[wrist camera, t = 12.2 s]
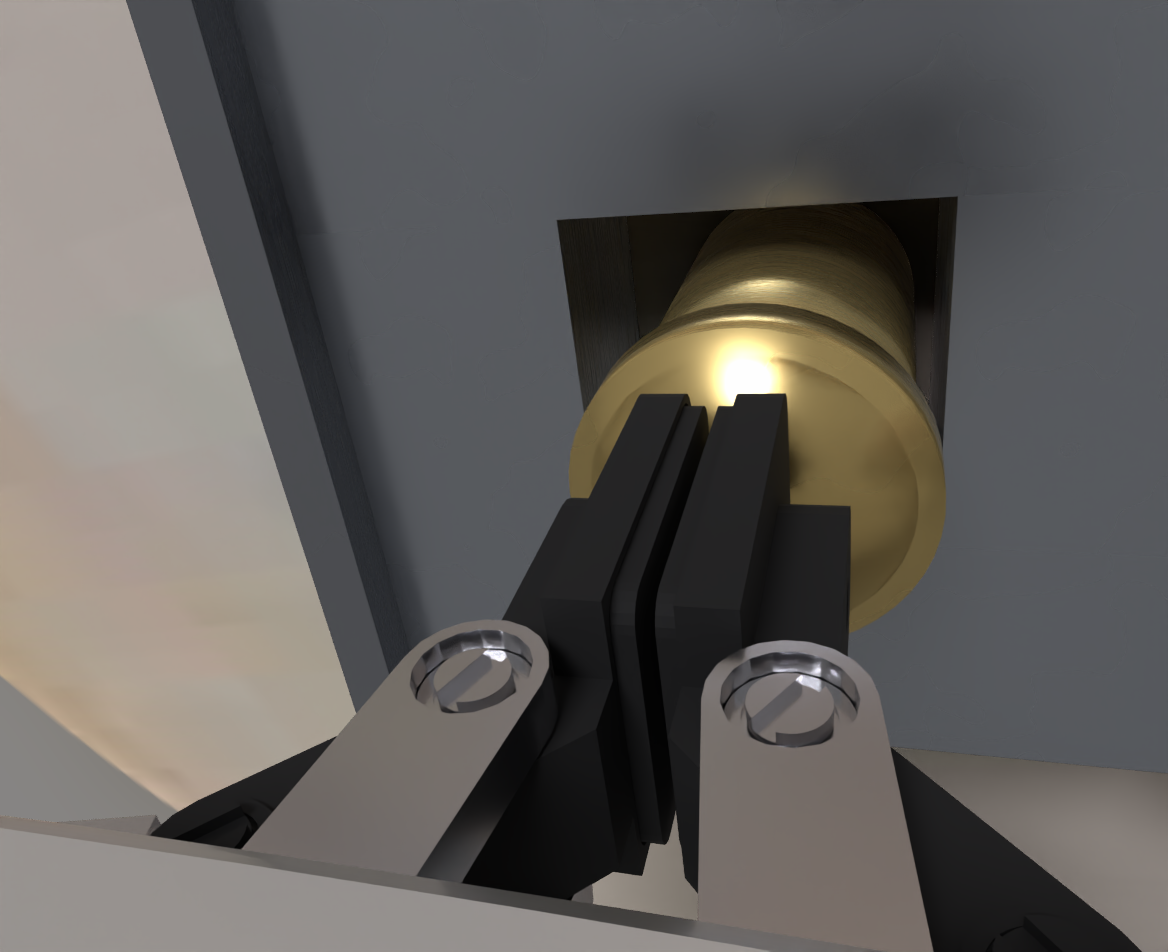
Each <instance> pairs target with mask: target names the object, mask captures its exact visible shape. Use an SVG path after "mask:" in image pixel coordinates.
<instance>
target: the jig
mask: <svg viewBox="0 0 1168 952" xmlns="http://www.w3.org/2000/svg"><path fill="white" fill-rule="evenodd" d="M126 2H127V5H128V8H129V11H130V14H131V17H132V20H133V24H134V27H135V30H136V33H137V36H138V39H139V42H140V45H141V48H142V51H143V54H144V58H145V61H146V64H147V67H148V70H149V73H150V76H151V79H152V82H153V85H154V89H155V92H156V95H157V98H158V101H159V104H160V107H161V110H162V113H163V116H164V120H165V123H166V126H167V129H168V132H169V135H170V138H171V141H172V144H173V147H174V150H175V154H176V157H177V160H178V163H179V166H180V169H181V172H182V175H183V178H184V181H185V185H186V188H187V191H188V194H189V197H190V200H191V203H192V206H193V209H194V212H195V215H196V219H197V222H198V225H199V228H200V231H201V234H202V237H203V240H204V243H205V246H206V250H207V253H208V256H209V259H210V262H211V265H212V268H213V271H214V274H215V277H216V280H217V284H218V287H219V290H220V293H221V296H222V299H223V302H224V305H225V308H226V311H227V315H228V318H229V321H230V324H231V327H232V330H233V333H234V336H235V339H236V342H237V346H238V349H239V352H240V355H241V358H242V361H243V364H244V367H245V370H246V373H247V376H248V380H249V383H250V386H251V389H252V392H253V395H254V398H255V401H256V404H257V407H258V411H259V414H260V417H261V420H262V423H263V426H264V429H265V432H266V435H267V438H268V441H269V445H270V448H271V451H272V454H273V457H274V460H275V463H276V466H277V469H278V472H279V476H280V479H281V482H282V485H283V488H284V491H285V494H286V497H287V500H288V503H289V507H290V510H291V513H292V516H293V519H294V522H295V525H296V528H297V531H298V534H299V537H300V541H301V544H302V547H303V550H304V553H305V556H306V559H307V562H308V565H309V568H310V572H311V575H312V578H313V581H314V584H315V587H316V590H317V593H318V596H319V599H320V602H321V606H322V609H323V612H324V615H325V618H326V621H327V624H328V627H329V630H330V633H331V637H332V640H333V643H334V646H335V649H336V652H337V655H338V658H339V661H340V664H341V668H342V671H343V674H344V677H345V680H346V683H347V686H348V689H349V692H350V695H351V698H352V702H353V705H354V708H355V711H356V713H357V712H358V711H359V710H360V709H361V708H362V706H363V705H364V704H365V703H366V702H367V700H368V699H369V698H370V697H371V696H372V695H373V693H374V692H375V691H376V690H377V689H378V687H379V686H380V685H381V684H382V683H383V682H384V680H385V679H386V678H387V677H388V676H389V674H390V673H391V672H392V671H393V670H394V669H395V667H396V666H397V665H398V664H399V663H400V662H401V660H402V659H403V658H404V657H405V656H406V655H407V654H408V653H409V652H410V651H411V650H412V649H413V648H414V647H416V646H417V645H418V644H419V643H420V642H421V641H423V640H424V639H426V638H428V637H430V636H432V635H433V634H435V633H437V632H439V631H440V630H443V629H446V628H449V627H452V626H455V625H458V624H461V623H464V622H471V621H478V620H486V619H487V620H502V618H503V616H504V615H505V613H506V611H507V609H508V607H509V605H510V603H511V601H512V599H513V597H514V596H515V594H516V592H517V590H518V588H519V586H520V584H521V582H522V580H523V578H524V577H525V575H526V573H527V571H528V569H529V567H530V565H531V563H532V561H533V559H534V558H535V556H536V554H537V552H538V550H539V548H540V546H541V544H542V542H543V540H544V539H545V537H546V535H547V533H548V531H549V529H550V527H551V525H552V523H553V522H554V520H555V518H556V516H557V514H558V512H559V510H560V508H561V506H562V505H563V504H564V502H565V501H566V500H567V499H569V498H571V496H570V487H569V464H570V453H571V449H572V445H573V441H574V437H575V433H576V431H577V428H578V426H579V424H580V421H581V419H582V417H583V414H584V412H585V411H586V409H587V407H588V406H589V404H590V402H591V401H592V399H593V397H594V396H595V394H596V392H597V391H598V389H599V387H600V386H601V384H602V382H603V381H604V379H605V378H606V376H607V374H608V373H609V371H610V370H611V368H612V367H613V366H614V365H615V363H616V362H617V361H618V360H619V359H620V358H621V356H622V355H623V354H624V353H625V352H626V351H627V350H628V349H629V348H631V347H632V346H633V345H634V344H635V343H636V342H637V341H639V330H638V321H637V311H636V302H635V292H634V283H633V274H632V264H631V255H630V245H629V236H628V226H627V217H626V216H631V215H648V214H666V213H683V212H700V211H717V210H734V209H751V208H768V207H785V206H802V205H819V204H836V203H853V202H870V201H887V200H904V199H922V198H939V197H940V201H939V220H938V240H937V259H936V279H935V298H934V318H933V337H932V356H931V376H930V395H929V407H930V409H931V411H932V413H933V415H934V417H935V420H936V424H937V427H938V430H939V433H940V437H941V443H942V450H943V457H944V469H945V484H946V516H945V521H944V527H943V532H942V537H941V540H940V542H939V545H938V548H937V551H936V553H935V556H934V558H933V560H932V562H931V563H930V565H929V567H928V569H927V570H926V572H925V574H924V576H923V577H922V578H921V579H920V581H919V582H918V583H917V585H916V586H915V587H914V588H913V590H912V591H911V592H910V593H909V594H908V595H907V596H906V597H905V598H904V599H903V600H902V601H901V602H900V603H899V604H898V605H897V606H895V607H894V608H893V609H891V610H890V611H889V612H887V613H886V614H884V615H883V616H882V617H880V618H879V619H877V620H876V621H874V622H872V623H870V624H868V625H866V626H864V627H863V628H861V629H859V630H856V631H854V632H851V633H849V640H848V657H849V658H851V659H853V660H855V661H856V662H857V663H858V664H859V665H860V666H861V667H862V668H863V669H864V670H865V671H866V672H867V673H868V674H869V675H870V676H871V678H872V680H873V682H874V685H875V687H876V689H877V691H878V694H879V696H880V701H881V706H882V711H883V715H884V720H885V725H886V730H887V734H888V739H889V744H890V746H891V747H901V748H911V749H922V750H932V751H942V752H952V753H963V754H973V755H983V756H994V757H1004V758H1014V759H1025V760H1035V761H1045V762H1056V763H1066V764H1076V765H1087V766H1097V767H1107V768H1118V769H1128V770H1138V771H1149V772H1159V773H1168V0H126Z"/></svg>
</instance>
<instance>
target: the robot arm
mask: <svg viewBox="0 0 1168 952" xmlns="http://www.w3.org/2000/svg"><path fill="white" fill-rule="evenodd" d="M850 575H851V506H838V505H804V504H790V471H789V435H788V405H787V396H786V394H785V393H739V394H737V395H736V398H735V401H734V404H733V406H718V408H717V411H716V414H715V417H714V420H713V423H712V426H711V429H710V432H709V425H708V414H707V409H706V407H705V406H691V402H690V398H689V396H688V394H640V395H639V397H638V398H637V400H636V402H635V404H634V406H633V408H632V410H631V412H630V415H629V417H628V419H627V421H626V423H625V425H624V427H623V429H622V431H621V433H620V435H619V437H618V439H617V441H616V443H615V445H614V447H613V449H612V451H611V453H610V455H609V457H608V459H607V462H606V464H605V466H604V468H603V470H602V472H601V474H600V476H599V478H598V480H597V482H596V484H595V486H594V488H593V490H592V492H591V494H590V496H589V498H569V499H567V500H566V501H565V502H564V504H563V505H562V506H561V508H560V510H559V512H558V514H557V516H556V518H555V520H554V522H553V523H552V525H551V527H550V529H549V531H548V533H547V535H546V537H545V539H544V540H543V542H542V544H541V546H540V548H539V550H538V552H537V554H536V556H535V558H534V559H533V561H532V563H531V565H530V567H529V569H528V571H527V573H526V575H525V577H524V578H523V580H522V582H521V584H520V586H519V588H518V590H517V592H516V594H515V596H514V597H513V599H512V601H511V603H510V605H509V607H508V609H507V611H506V613H505V615H504V616H503V618H502V620H487V619H486V620H478V621H471V622H464V623H461V624H458V625H455V626H452V627H449V628H446V629H443V630H440V631H439V632H437V633H435V634H433V635H432V636H430V637H428V638H426V639H424V640H423V641H421V642H420V643H419V644H418V645H417V646H416V647H414V648H413V649H412V650H411V651H410V652H409V653H408V654H407V655H406V656H405V657H404V658H403V659H402V660H401V662H400V663H399V664H398V665H397V666H396V667H395V669H394V670H393V671H392V672H391V673H390V674H389V676H388V677H387V678H386V679H385V680H384V682H383V683H382V684H381V685H380V686H379V687H378V689H377V690H376V691H375V692H374V693H373V695H372V696H371V697H370V698H369V699H368V700H367V702H366V703H365V704H364V705H363V706H362V708H361V709H360V710H359V711H358V712H357V713H356V715H355V716H354V717H353V718H352V719H351V720H350V722H349V723H348V724H347V725H346V726H345V728H344V729H343V730H342V731H341V732H340V733H339V735H338V736H336V737H334V738H332V739H330V740H327V741H325V742H323V743H321V744H319V745H317V746H314V747H312V748H310V749H308V750H306V751H304V752H302V753H299V754H297V755H295V756H293V757H291V758H289V759H286V760H284V761H282V762H280V763H278V764H276V765H273V766H271V767H269V768H267V769H265V770H263V771H261V772H258V773H256V774H254V775H252V776H250V777H248V778H245V779H243V780H241V781H239V782H237V783H235V784H232V785H230V786H228V787H226V788H224V789H222V790H219V791H217V792H215V793H213V794H211V795H209V796H207V797H204V798H202V799H200V800H198V801H196V802H194V803H193V804H191V805H189V806H188V807H186V808H184V809H182V810H181V811H179V812H177V813H175V814H174V815H172V816H171V817H170V818H169V819H168V820H167V821H165V822H164V823H163V824H162V825H161V824H160V822H159V820H158V818H157V816H156V815H148V816H135V817H122V818H109V819H95V820H82V821H69V822H57V823H56V822H47V821H39V820H32V819H25V818H17V817H9V816H1V815H0V952H1142V951H1141V950H1140V949H1139V948H1138V947H1137V946H1136V945H1135V944H1134V943H1133V942H1132V941H1131V940H1130V939H1129V938H1128V937H1127V936H1126V935H1125V934H1124V933H1123V932H1122V931H1120V930H1119V929H1118V928H1117V927H1115V926H1114V925H1113V924H1112V923H1110V922H1109V921H1108V920H1107V919H1105V918H1104V917H1103V916H1102V915H1100V914H1099V913H1098V912H1097V911H1095V910H1094V909H1093V908H1092V907H1090V906H1089V905H1088V904H1087V903H1085V902H1084V901H1083V900H1082V899H1080V898H1079V897H1078V896H1077V895H1075V894H1074V893H1073V892H1072V891H1070V890H1069V889H1068V888H1067V887H1065V886H1064V885H1063V884H1062V883H1060V882H1059V881H1058V880H1057V879H1055V878H1054V877H1053V876H1052V875H1050V874H1049V873H1048V872H1047V871H1045V870H1044V869H1043V868H1042V867H1040V866H1039V865H1038V864H1037V863H1035V862H1034V861H1033V860H1032V859H1030V858H1029V857H1028V856H1027V855H1025V854H1024V853H1023V852H1022V851H1020V850H1019V849H1018V848H1016V847H1015V846H1014V845H1013V844H1011V843H1010V842H1009V841H1008V840H1006V839H1005V838H1004V837H1003V836H1001V835H1000V834H999V833H998V832H996V831H995V830H994V829H993V828H991V827H990V826H989V825H988V824H986V823H985V822H984V821H983V820H981V819H980V818H979V817H978V816H976V815H975V814H974V813H973V812H971V811H970V810H969V809H968V808H966V807H965V806H964V805H963V804H961V803H960V802H959V801H958V800H956V799H955V798H954V797H953V796H951V795H950V794H949V793H948V792H946V791H945V790H944V789H943V788H941V787H940V786H939V785H938V784H936V783H935V782H934V781H933V780H931V779H930V778H929V777H928V776H926V775H925V774H924V773H923V772H921V771H920V770H919V769H918V768H916V767H915V766H914V765H913V764H911V763H910V762H909V761H908V760H906V759H905V758H904V757H903V756H901V755H900V754H899V753H898V752H896V751H895V750H894V749H893V748H891V747H890V744H889V739H888V734H887V730H886V725H885V720H884V715H883V711H882V706H881V701H880V696H879V694H878V691H877V689H876V687H875V685H874V682H873V680H872V678H871V676H870V675H869V674H868V673H867V672H866V671H865V670H864V669H863V668H862V667H861V666H860V665H859V664H858V663H857V662H856V661H855V660H853V659H851V658H849V657H848V640H849V616H850ZM675 811H676V815H677V823H678V832H679V840H680V845H681V848H682V856H683V865H684V873H685V878H686V880H687V881H688V882H689V883H690V884H691V886H692V887H693V888H694V889H695V891H696V892H697V893H698V921H695V920H689V919H683V918H677V917H670V916H664V915H658V914H652V913H646V912H640V911H633V910H627V909H621V908H614V907H608V906H602V905H595V904H593V887H592V884H593V883H595V882H597V881H598V880H600V879H602V878H603V877H605V876H607V875H609V874H610V873H612V872H619V873H625V874H632V875H639V876H642V874H643V870H644V866H645V862H646V858H647V854H648V850H649V846H650V843H656V844H663V845H665V844H667V842H668V840H669V836H670V833H671V829H672V824H673V820H674V816H675Z"/></svg>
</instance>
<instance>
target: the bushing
mask: <svg viewBox="0 0 1168 952" xmlns="http://www.w3.org/2000/svg"><path fill="white" fill-rule="evenodd" d="M739 393H785V394H786V396H787V405H788V435H789V471H790V504H804V505H838V506H851V575H850V616H849V633H851V632H854V631H856V630H859V629H861V628H863V627H864V626H866V625H868V624H870V623H872V622H874V621H876V620H877V619H879V618H880V617H882V616H883V615H884V614H886V613H887V612H889V611H890V610H891V609H893V608H894V607H895V606H897V605H898V604H899V603H900V602H901V601H902V600H903V599H904V598H905V597H906V596H907V595H908V594H909V593H910V592H911V591H912V590H913V588H914V587H915V586H916V585H917V583H918V582H919V581H920V579H921V578H922V577H923V576H924V574H925V572H926V570H927V569H928V567H929V565H930V563H931V562H932V560H933V558H934V556H935V553H936V551H937V548H938V545H939V542H940V540H941V537H942V532H943V527H944V521H945V516H946V484H945V469H944V457H943V450H942V443H941V437H940V433H939V430H938V427H937V424H936V420H935V417H934V415H933V413H932V411H931V409H930V407H929V404H928V402H927V400H926V398H925V396H924V395H923V393H922V392H921V390H920V389H919V387H918V386H917V384H916V355H915V309H914V282H913V275H912V270H911V266H910V263H909V260H908V257H907V255H906V252H905V250H904V248H903V246H902V244H901V242H900V241H899V239H898V238H897V236H896V235H895V233H894V232H893V231H892V230H891V228H890V227H889V226H888V225H887V224H886V223H885V222H884V221H883V220H882V219H881V218H880V217H879V216H878V215H876V214H875V213H874V212H873V211H872V210H870V209H868V208H867V207H865V206H864V205H862V204H861V203H859V202H853V203H836V204H819V205H802V206H785V207H768V208H751V209H736V210H735V211H734V212H732V213H731V214H729V215H728V216H727V217H726V218H725V219H724V220H723V221H722V222H721V223H720V224H719V225H718V226H717V227H716V228H715V229H714V231H713V232H712V233H711V234H710V235H709V237H708V239H707V240H706V242H705V243H704V245H703V247H702V248H701V250H700V252H699V254H698V256H697V257H696V259H695V261H694V263H693V265H692V267H691V269H690V270H689V272H688V274H687V276H686V278H685V280H684V281H683V283H682V285H681V287H680V289H679V291H678V292H677V294H676V296H675V298H674V300H673V302H672V303H671V305H670V307H669V309H668V311H667V313H666V314H665V316H664V318H663V320H662V322H661V324H660V325H659V327H658V328H656V329H654V330H653V331H651V332H650V333H648V334H647V335H645V336H644V337H642V338H641V339H640V340H639V341H637V342H636V343H635V344H634V345H633V346H632V347H631V348H629V349H628V350H627V351H626V352H625V353H624V354H623V355H622V356H621V358H620V359H619V360H618V361H617V362H616V363H615V365H614V366H613V367H612V368H611V370H610V371H609V373H608V374H607V376H606V378H605V379H604V381H603V382H602V384H601V386H600V387H599V389H598V391H597V392H596V394H595V396H594V397H593V399H592V401H591V402H590V404H589V406H588V407H587V409H586V411H585V412H584V414H583V417H582V419H581V421H580V424H579V426H578V428H577V431H576V433H575V437H574V441H573V445H572V449H571V453H570V464H569V487H570V496H571V498H589V496H590V494H591V492H592V490H593V488H594V486H595V484H596V482H597V480H598V478H599V476H600V474H601V472H602V470H603V468H604V466H605V464H606V462H607V459H608V457H609V455H610V453H611V451H612V449H613V447H614V445H615V443H616V441H617V439H618V437H619V435H620V433H621V431H622V429H623V427H624V425H625V423H626V421H627V419H628V417H629V415H630V412H631V410H632V408H633V406H634V404H635V402H636V400H637V398H638V397H639V395H640V394H688V396H689V398H690V402H691V406H705V407H706V409H707V414H708V425H709V432H710V429H711V426H712V423H713V420H714V417H715V414H716V411H717V408H718V406H733V404H734V401H735V398H736V395H737V394H739Z"/></svg>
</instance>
